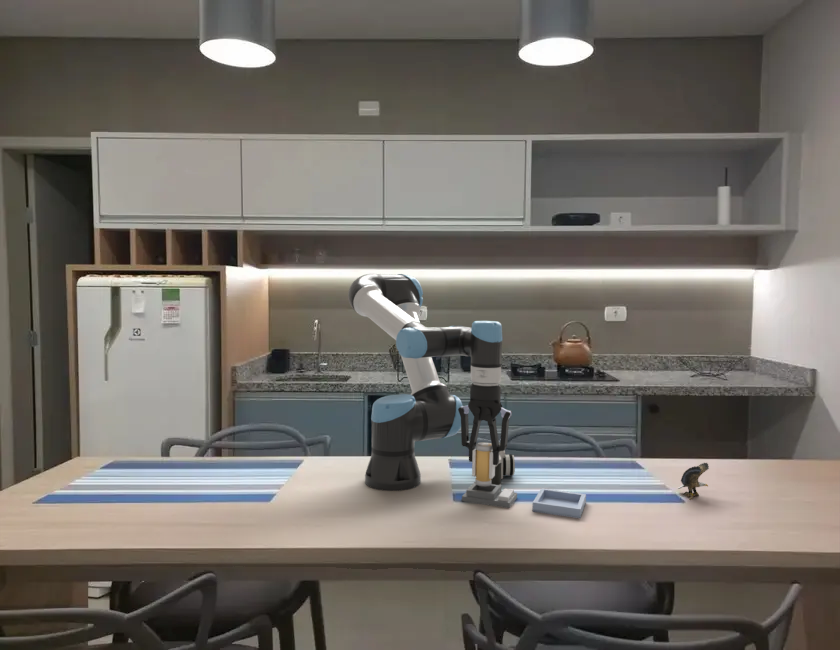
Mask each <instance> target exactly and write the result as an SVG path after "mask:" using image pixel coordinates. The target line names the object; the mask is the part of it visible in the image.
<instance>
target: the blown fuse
mask: <svg viewBox="0 0 840 650" xmlns="http://www.w3.org/2000/svg"><path fill="white" fill-rule="evenodd" d="M490 443H491V442H476V447H475V448H476V449H477V453H476V476H475V480H474V482H475V484H476V485H478V486H490V485H491V479H489V459H490V452H491V451H492V444H490Z"/></svg>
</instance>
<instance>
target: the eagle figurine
mask: <svg viewBox="0 0 840 650" xmlns="http://www.w3.org/2000/svg"><path fill="white" fill-rule="evenodd" d="M709 469H710V468H709V463H708V462H703V463H700V464H698V465H697V466H692V467H689V468H688V469H686V470H685V471H684V472H683V473H682V476H681V480H680V482H681V484H682V485H681V486H678V487H677V490H679V489H682V488H687V490H688V491H685V492H684V493H682V495H683V496H684V495H685V497H688V498H689V499H688V501H691V499H692V500H693V499H694V497H696V496H700V494H699V493H698V491H697V489H696V488H700V487H709V485H708V484H707V483H705V482H701V481H699V478H700V477H701V476H702V475H703V474H704V473H706V472H707V471H708V470H709Z"/></svg>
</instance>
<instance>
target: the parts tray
mask: <svg viewBox="0 0 840 650" xmlns="http://www.w3.org/2000/svg"><path fill="white" fill-rule="evenodd" d="M586 503H587V494H586V493H580V492H572V491H565V490H557V489H550V488H543V487H542V488H540V490H539V491H538V493H537V494H536V496H535V498H534V500H533V501H532V512H534V513H540V514H548V515H554V516H561V517H568V518H569V517H570V518H575V519H581V518H582V516H583V512H584V509H585V507H586Z"/></svg>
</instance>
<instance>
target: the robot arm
mask: <svg viewBox="0 0 840 650" xmlns="http://www.w3.org/2000/svg"><path fill="white" fill-rule="evenodd" d="M423 295H424V292H423V288H422V286H421V282H420V281H419V280H418V279H417V278H415V277H414V276H412V275H408V274H407V275H406V274H402V273H398V274H385V273H384V274H383V273H382V274H381V273H378V274H377V273H367V274H363V275H361V276H359V277H357V278H356V279H354V281H352V283H351V285H350V286H349V288H348V292H347V298H348V303H349V305H350V307H351V308H352V309H353V310H354V312H355V313H357V314H358V315H359V316H362V317H367V318H368V319H370V320H371V321H372V322H373V323H374V324H375V325H377V326H378V327H379V328H380V329H381V330H383V331H384V332H385V333H387V335H389V337H391V338H392V339H394V340H395V345H396V350H398V354H399V356H400V357H401V361H402V362H403V368H404V369H405V370H404V371H405V373H406V376H407V380H408V383H409V385H410V389H411V393H410V394H409V393H399V394H390V395H385V396H382V397H380V398H377V399H376V400H375V401H374V402H373V404H372V407H371V416H370V419H371V456H370V459H369V462H368V465H367V468H366V471H365V474H364V484H365V485H366V486H367V487H369V488H371V489H374V490H378V491H387V492H397V491H407V490H411V489H414V488H417V487H419V485H420V484H421V482H422V480H421V477H422V476H421V474H422V473H421V472H420V468H419V465H418V461H417V459H416V455H415V443H416V442H422V441H429V440H436V439H438V440H439V439H446V438H449V437H453V436H455V435H457V433H458V432H459V431H460V433H461V435H460V436H461V446H462V447H465V448H467V449H468V462H470V463H472V465H471V466H472V467H471V477H476V453H477V449H476V444H477V443H478V437H479V433H480V427H481V423H482V421H485V422H487V425H488V426H487V427H488V428H489V429H488V430H489V434H490V435H489V436H490V441H491V442H490V443H492V449H493V450H492V451H491V452H490V459H489V479H492V478H493V477H494V476H495V465H497V464H498V463H499V452H500V451H505V450H506V449H507V448H508V438H509V423H510V419H511V417H512V414H513V411H512V410H509V409H506V408H504V407H503V405H502V402H501V395H502V394H501V393H502V387H501V384H500V383H502V358H503V357H502V353H503V341H504V338H503V326H502V323H501V322H500V321H496V320H475V321H473V322H472V323H471V327H469V326H463V325H450V326H435V327H431V326H430V327H429V326H428V327H427V326H425V325H424V324H422V323H421V322H420V319H419V313H420V312H421V307H422V305H423V303H424V302H423V301H424V298H423ZM454 356H455V357H457V356H465V357H470V382H471V383H470V389H469V393H470V395H469V402H468V404H467V405H463V402H462V400H461V399H460V398H459V397H458V396H457V395H455V394H450V392H449V388H448V386H447V385H446V384H443V383H442V382H441V380H440V379H439V375H438V372H437V369H436V366H435V363H434V361H433V358H435V357H438V358H439V357H454ZM470 412H471V414H472V415H473V420H472V421H473V422H472V423H473V424H472V428H471V432H470V429H469V423H470V422H469V413H470ZM499 413H500V414H501V415H500V417H501V418H502V419H501V430H500V440H499V434H498V428H497V417H498V415H499ZM499 443H500V445H499Z"/></svg>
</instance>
